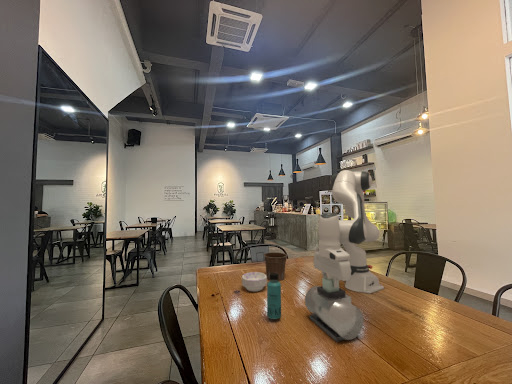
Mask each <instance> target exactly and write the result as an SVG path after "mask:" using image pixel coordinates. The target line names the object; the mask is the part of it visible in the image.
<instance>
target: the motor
mask: <svg viewBox="0 0 512 384" xmlns="http://www.w3.org/2000/svg"><path fill="white" fill-rule="evenodd" d="M304 303H305V304H304V305H305V307H306V309H307V310H308V311H309V312H310V313H312V314H309V319H310V320H311V321H312V322H313V323H314V324H316V326H318V327H319V328H320V329H321V330H322V331H324V332H325V334H327V335H328V336H329V337H330V338H331V339H332V340H334V342H336V343H339V342H342V341H345V340H347V341H348V340H349V341H350V340H354V339H355V338H357V337H359V334H360V333H361V332H362V329H363V326H364V316H363V313H362V311H361V309H360V308H358V306H356V305H354V304H352V296H351V295H349V294H346V290H345V289H343V288H341V287H339V291H336V292H330V293H329V292H327V291H325V290H324V289H323V288H322V285H314V286H312V287H310V288H309V289H308V290H307V292H306V294H305V297H304Z"/></svg>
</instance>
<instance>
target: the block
mask: <svg viewBox="0 0 512 384" xmlns="http://www.w3.org/2000/svg"><path fill="white" fill-rule="evenodd" d="M334 280H335V279H334V277H333V276H331V275H329V274H327V278H323V277H322V278H321V282H322V285H321V286H322V288H323V289H324V290H325V291H327V292H329V293H330V292H336V291H339V288H340V282H339V283H338V288H335V287H333V286H332V282H334Z"/></svg>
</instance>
